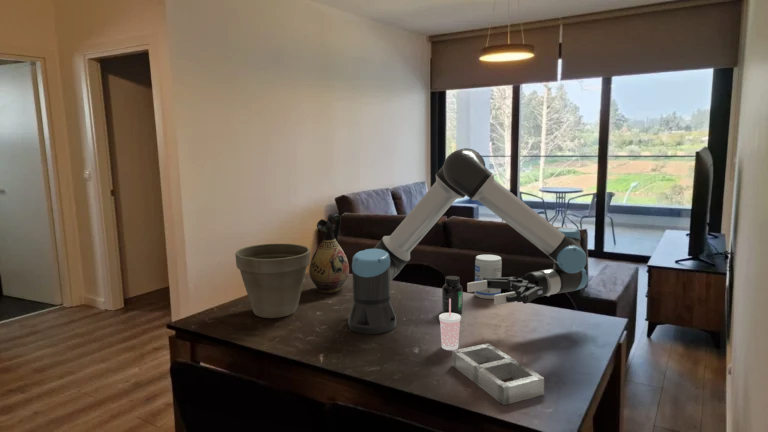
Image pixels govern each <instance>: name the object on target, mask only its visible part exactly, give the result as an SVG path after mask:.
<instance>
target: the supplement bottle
mask: <svg viewBox="0 0 768 432" xmlns="http://www.w3.org/2000/svg"><path fill="white" fill-rule="evenodd" d="M444 279H445V280H444V285H442V288H441V303H442V304H441V309H442V313H449V299H451V313H456V314H459V315H461V314H462V313H463V307H464V306H463V305H464V303H463V301H464V300H463V299H464V297H463V295H464V293H463V291H464V290H463V289H464V288H463V286H462V285H461V281H460V279H461V278H460V276H457V275H447V276H445V278H444Z"/></svg>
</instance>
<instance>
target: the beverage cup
mask: <svg viewBox="0 0 768 432" xmlns="http://www.w3.org/2000/svg"><path fill="white" fill-rule="evenodd" d="M438 320H439V323H440V340H441V348H442V349H443V350H446V351H452V350H457V349H458V348H459V341H460V339H459V338H460V328H461V327H460V325H461V320H462V316H461V314H456V313H451V299H449V313H443V312H442V313H441V314H439V315H438Z"/></svg>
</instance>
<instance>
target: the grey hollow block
mask: <svg viewBox="0 0 768 432" xmlns="http://www.w3.org/2000/svg"><path fill="white" fill-rule="evenodd" d="M451 365H452V367H454V368H455V369H456V370H457V371H459V372H460V373H461V374H463V375H464V376H465V377H467V378H468V379H469V380H470V381H472V382H473V383H474V384H476V386H478V387H479V388H480V389H482V390H483V391H484V392H486V393H487V394H489V395H490V396H491V397H492V398H494V399H495V401H498V402H499V403H500V404H501V405H503V406H506V405H510V404H514V403H518V402H522V401H525V400H529V399H533V398H536V397H541V396H544V395H545V377H543V376H542V375H540V374H539V373H537V372H536V371H534V370H532V369H530V368H528V367H527V366H526V365H524V364H522V363H520V361H518V360H516V359H514V358H513V357H511V356H510V355H508V354H507V353H505V352H503V351H501V350H500V349H498V348H497V347H495V346H493V345H491V344H490V343H482V344H477V345H472V346H469V347H468V346H467V347H464V348H463V347H462V348H459V349H456V350H451ZM507 379H513V380H509V381H506V382H504V381H503V380H507Z"/></svg>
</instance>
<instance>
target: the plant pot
mask: <svg viewBox="0 0 768 432" xmlns="http://www.w3.org/2000/svg"><path fill="white" fill-rule="evenodd" d="M234 257H235V264H236V269H238V270H239V271H240V275H241V279H242V281H243V284H244V288H245V292H246V295H247V298H248V300H249V302H250V303H249V304H250V307H251V309H252V312H253V314H254V315H255V316H257V317H260V318H264V319H276V318H277V319H278V318H283V317H287V316H290V315H292V314H295V312H296V311H297V309H298V306H299V303H300V298H301V293H302V291H303V287H304V286H303V285H304V281H305V277H306V272H307V268H308V267H309V266H310V263H311V249H310V248H309V247H308V246H305V245H301V244H295V243H264V244H262V243H261V244H256V245H255V244H254V245H250V246H245V247H242V248H239V249H238V250H236V252H235V256H234Z"/></svg>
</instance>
